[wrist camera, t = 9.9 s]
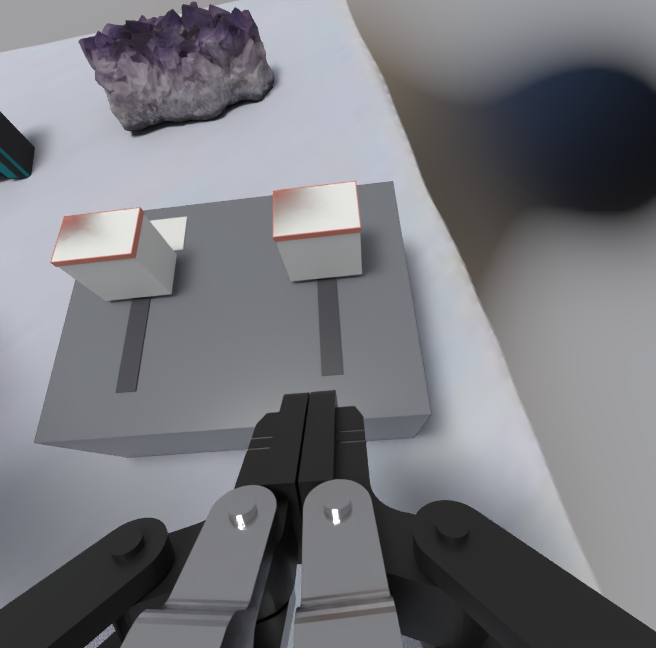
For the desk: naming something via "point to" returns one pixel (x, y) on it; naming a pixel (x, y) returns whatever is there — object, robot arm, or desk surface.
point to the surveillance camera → (14, 151)
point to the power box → (238, 339)
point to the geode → (179, 65)
